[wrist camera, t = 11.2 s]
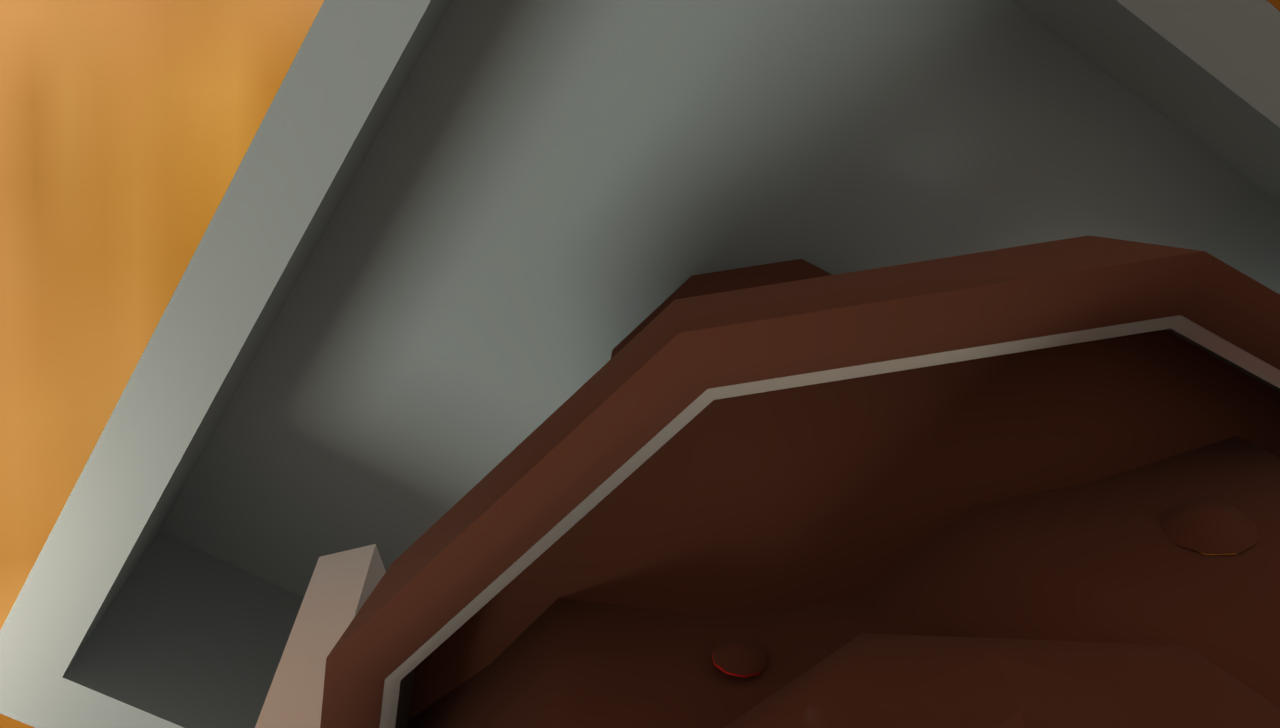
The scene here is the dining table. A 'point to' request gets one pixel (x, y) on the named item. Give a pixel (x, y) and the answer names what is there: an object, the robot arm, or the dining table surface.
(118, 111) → the dining table surface
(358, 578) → the robot arm
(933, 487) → the ice cream bowl
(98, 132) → the dining table surface
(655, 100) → the charcoal tray
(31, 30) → the dining table surface
